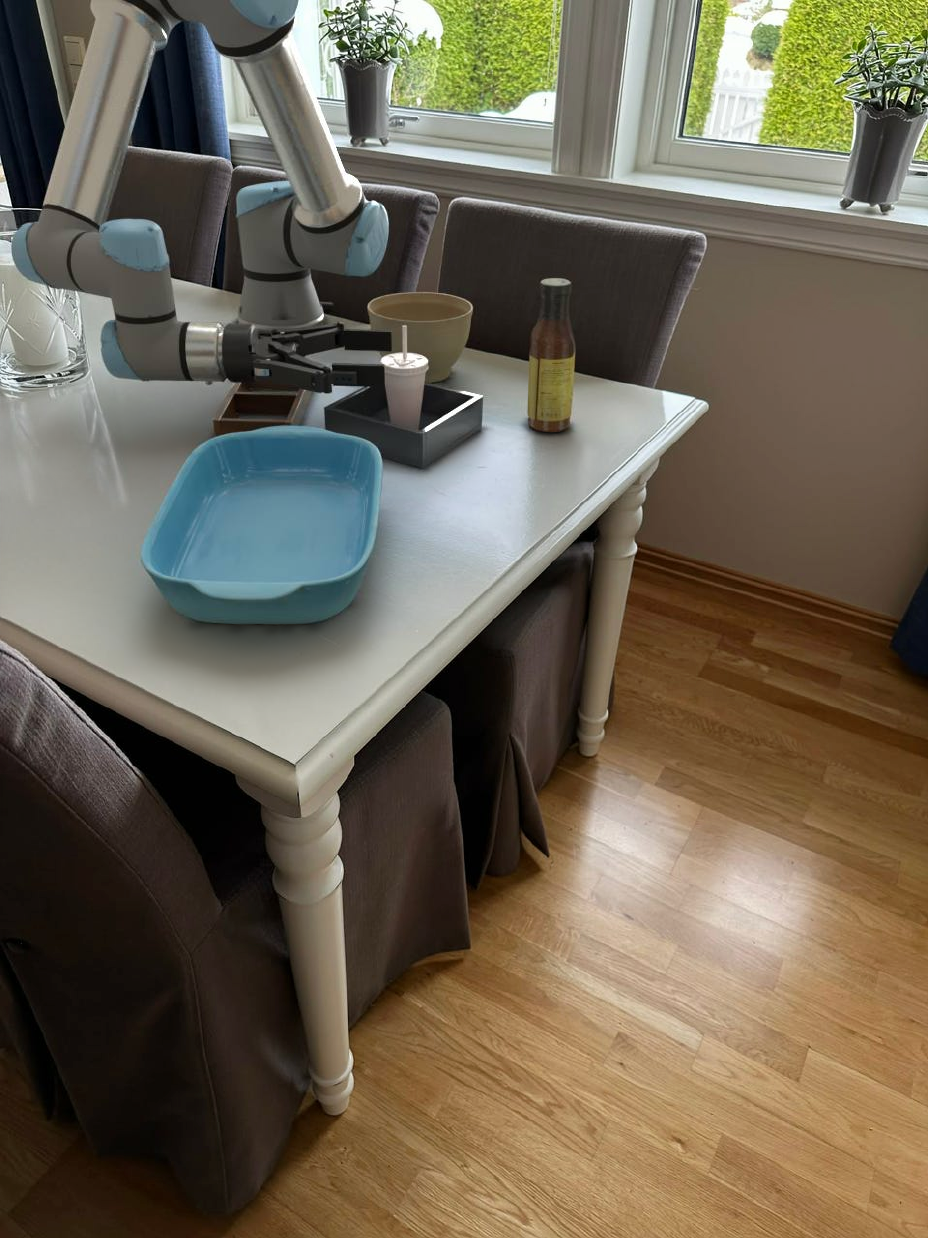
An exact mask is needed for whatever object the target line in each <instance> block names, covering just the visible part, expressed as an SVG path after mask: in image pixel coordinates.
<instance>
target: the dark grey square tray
mask: <svg viewBox="0 0 928 1238" xmlns="http://www.w3.org/2000/svg"><path fill="white" fill-rule="evenodd" d="M483 408H484V396H483V395H482V394H481V395H480V394H476V393H472V392H468V391H465V390H460V389H456V388H451V387H448V386H444V385H439V384H436V383H428V382H424V389H423V397H422V405H421V413H420V421H419V429H418V430H416V429H412V428H408V427H405V426H401V425H397V424H394V423H391V421H390V415H389V408H388V401H387V395H386V388H385V387H360V388H359V389H356V390H355V391H353V392H351V393H349V394H347V395H345V396H343V397H341V398H339V399H337V400H335V401H334V402H332V403H329V404H328V405H325V406H324V407H323V419H324V430H328V431H331V432H334V433H339V434H345V435H350V436H355V437H359V438H362V439H365V440H367V441H369V442H371V443H372V444H374V445H375V446H376V447H377V448H378V450H379V452H380V454H381V458H384V459H388V460H391V461H395V462H399V463H402V464H406V465H409V466H411V467H416V468H418V469H421V470H422V469H425V468H426V467H427V466H429V465H431V464H432V463H433V462H435V461H436V460H437V459H439V458H440V457H442V456H444V455H445V454H446V453H448V452H449V451H451V450H452V449H454V448H455V447H456V446H458V445H460V444H461V443H463V442H464V441H466V440H467V439H468V438H470V437H471V436H473V435H474V434H476V433H478V432H479V431H480V430H482V429H483V415H484V414H483V413H484V409H483Z"/></svg>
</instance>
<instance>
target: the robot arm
mask: <svg viewBox="0 0 928 1238" xmlns="http://www.w3.org/2000/svg"><path fill="white" fill-rule="evenodd" d="M299 5H300V0H91V1H90V11H91V13H92V15H93V17H94V19H95V21H94V24H93V27H92V31H91V35H90V38H89V41H88V45H87V48H86V51H85V55H84V59H83V63H82V66H81V68H80V69H81V70H80V74H79V75H78V76H79V77H78V80H77V83H76V87H75V90H74V95H73V98H72V102H71V105H70V108H69V111H68V116H67V119H66V122H65V126H64V129H63V132H62V137H61V140H60V142H59V143H60V144H59V146H58V150H57V155H56V158H55V161H54V165H53V168H52V170H51V171H52V172H51V175H50V179H49V182H48V185H47V189H46V193H45V196H44V200H43V202H42V203H43V204H42V208H41V210H40V213H39V218H38V221H34V222H27V223H24V224H22V225H21V226H20V227H19V228H18V229H17V230H16V231H15V232H14V234H13V235H12V239H11V242H10V243H11V244H10V248H11V258H12V261H13V263H14V265H15V267H16V269H17V271H18V272H19V274H21V275H22V276H23V277H24V278H25V279H27V280H28V281H30V282H32V283H36V284H39V285H43V286H47V287H48V288H51V289H56V290H66V291H71V292H72V291H73V292H77V293H85V294H88V295H92V296H93V295H94V296H97V297H98V296H99V297H103V298H108V299H111V304H112V308H113V313H114V319H110V320H107V321H105V322H104V324H103V326H102V328H101V331H100V345H101V347H100V353H101V358H102V361H103V365H104V366H105V368H106V370H107V372H109V374H110V375H111V376H112V377H114V378H118V379H123V380H124V379H125V380H134V381H135V380H136V381H142V382H151V381H153V382H154V381H155V382H165V381H166V382H204V383H205V385H207V386H211V385H212V384H213V383H225V382H226V380H228V381H229V382H230V383H232V384H235V383H255V382H257V381H259V382H272V383H276V384H281V385H285V386H290V387H294V388H299V389H303V390H307V391H312V392H313V393H317V394H326V395H327V394H332V393H333V387H358V388H359V387H360V388H362V387H385V364H381V363H359V362H358V363H355V362H354V363H352V362H332V363H331V366H330V365H328V364H325V363H321V362H318V361H316V360H313V359H310V358H308V357H306V356H310V355H314V354H319V353H323V352H328V351H333V350H336V349H341V348H344V351H361V352H363V351H364V352H379V351H392V330H371V329H364V328H363V329H361V328H345V322H343V321H337V322H335V323H328V324H327V323H326V324H324V322H325V315H324V309H325V308H327V309H332V308H334V302H328V301H327V302H326V301H320V300H319V297H318V294H317V290H316V288H315V285H314V281H313V280H312V272H311V270H314V271H320V272H326V273H331V274H338V275H343V276H347V277H369V276H371V275H372V274H373V273H375V272H376V270H377V269H378V268H379V267H380V265H381V263H382V261H383V259H384V256H385V253H386V249H387V246H388V241H389V233H390V231H389V230H390V228H389V225H390V224H389V216H388V212H387V210H386V208H385V206H384V205H383V204H382V203H381V202H377V201H376V200H371V201H369V200H368V199H366V196H365V194H364V191H363V189H362V185H361V184H360V182H359V180H358V178H356V177H355V176H354V175H351V174H350V173H347V172H346V170H345V168H344V166H343V164H342V161H341V158H340V156H339V153H338V151H337V147H336V145H335V143H334V142H335V141H334V140H333V138H332V134H331V133H330V129H329V127H328V125H327V122H326V119H325V117H324V114H323V112H322V109H321V106H320V104H319V101H318V98H317V97H316V94H315V91H314V89H313V86H312V83H311V80H310V78H309V76H308V73H307V70H306V68H305V65H304V63H303V60H302V58H301V55H300V52H299V50H298V48H297V44H296V41H295V39H294V36H293V34H292V33H293V31H294V28H295V26H296V23H297V11H298V9H299ZM182 22H183V23H189V22H190V23H197V24H200V23H201V24H202V25H203V26H204V28H205V30H206V33H207V34H208V37H209V38H210V41H211V43H212V45H213V47H214V49H215V51H216V52H217V53H218V54H219V55H220V56H221V57H223V58H227V59H229V60H232V61H233V63H234V64H235V67H236V69H237V72H238V74H239V75H240V78H241V80H242V82H243V84H244V86H245V89H246V92H247V93H248V95H249V98H250V100H251V102H252V104H253V106H254V109H255V110H256V113H257V115H258V117H259V120H260V122H261V124H262V126H263V127H264V130H265V133H266V134H267V137H268V139H269V142H270V144H271V145H272V148H273V150H274V152H275V154H276V157H277V159H278V161H279V163H280V165H281V168H282V169H283V172H284V174H285V177H286V178H287V180H279V181H271V182H263V183H256V184H252V185H247V186H245V187H243V188H240V189H239V190H238V192H237V193H236V197H235V198H236V199H235V201H236V214H235V217H236V220H237V229H238V237H239V244H240V245H239V246H240V254H241V262H242V270H243V271H242V272H243V285H242V288H241V295H240V302H239V303H240V304H239V306H238V309H237V319H238V323H237V322H236V323H234V322H229V323H227V324H226V325H224V324H223V323H222V322H215V321H214V322H212V321H185V322H184V321H181V320H180V321H179V320H178V317H177V310H176V303H175V295H174V287H173V283H172V282H173V281H172V276H171V267H170V255H169V254H168V251H167V246H166V241H165V238H164V237H165V236H164V233H163V230H162V228H161V227H160V225H159V224H157V223H156V222H154V221H152V220H149V219H142V218H120V219H119V218H118V219H112V220H109V221H107V219H108V216H109V214H110V209H111V206H112V202H113V200H114V196H115V193H116V189H117V185H118V182H119V179H120V175H121V172H122V168H123V165H124V162H125V158H126V155H127V150H128V147H129V144H130V140H131V137H132V133H133V130H134V128H135V124H136V120H137V116H138V113H139V110H140V107H141V103H142V99H143V96H144V92H145V89H146V86H147V82H148V79H149V75H150V71H151V69H152V65H153V61H154V59H155V55H156V52H158V51H161V50H164V49H165V48H166V46H167V44H168V40H169V37H170V34H171V32H172V30H173V29H174V28H175V26H176V25H178V24H179V23H182ZM323 308H324V309H323ZM260 335H269V336H270V337H262V336H260ZM312 383H313V384H312Z"/></svg>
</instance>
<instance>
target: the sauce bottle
mask: <svg viewBox="0 0 928 1238" xmlns="http://www.w3.org/2000/svg"><path fill="white" fill-rule="evenodd" d="M539 293H540V310H539V316H538V320H537V322H536V325H535V326H534V328H533V329H532V331H531V332H530V333H531V334H530V347H529V348H530V350H529V359H528V381H527V382H528V383H527V385H528V386H527V391H528V392H527V409H526V410H527V411H526V412H527V414H526V415H527V416H528V417H527V424H528V426H530V427H531V428H533V429H534V430H535V431H538V432H542V433H543V432H544V433H559V432H562V431H565V430H566V429H568V428H569V426H570V421H571V416H572V410H573V397H574V380H575V366H576V365H575V363H576V362H575V361H576V342H575V341H576V340H575V337H574V331H573V329H572V328H573V327H572V324H571V319H570V314H569V307H570V306H569V305H570V295H571V293H572V282H571V281H569V280H568V279H566V278H557V277H554V278H553V277H551V278H545V279H542V280H541V281H540V284H539Z"/></svg>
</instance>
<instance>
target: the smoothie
mask: <svg viewBox="0 0 928 1238" xmlns="http://www.w3.org/2000/svg"><path fill="white" fill-rule="evenodd" d="M402 332H403V353H394V354H389V355H386V356H384V357H383V358H382V357H381V359H380V361H379V362H380V364H385V388H386V395H387V401H388V408H389V415H390V421H391V423H394V424H397V425H401V426H405V427H408V428H412V429H416V430H418V429H419V421H420V413H421V405H422V397H423V389H424V382H425V373H426V371H427V370H428V360H427V358H425V357H424V356H422V355H419V354H414V353H407V326H406V325H403V326H402Z"/></svg>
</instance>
